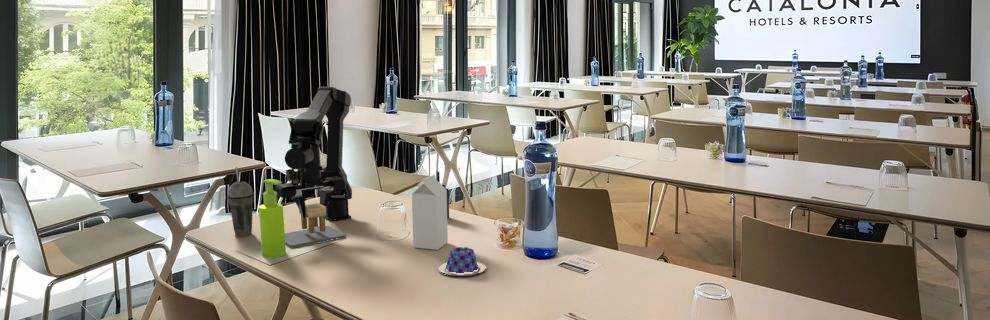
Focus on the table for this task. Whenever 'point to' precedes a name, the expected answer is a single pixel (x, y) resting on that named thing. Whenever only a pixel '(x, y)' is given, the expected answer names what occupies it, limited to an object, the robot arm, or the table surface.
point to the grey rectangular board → (311, 237)
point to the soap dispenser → (272, 222)
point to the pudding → (461, 260)
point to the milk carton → (429, 215)
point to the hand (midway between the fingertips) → (312, 216)
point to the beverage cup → (241, 207)
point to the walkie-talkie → (447, 194)
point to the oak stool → (314, 216)
